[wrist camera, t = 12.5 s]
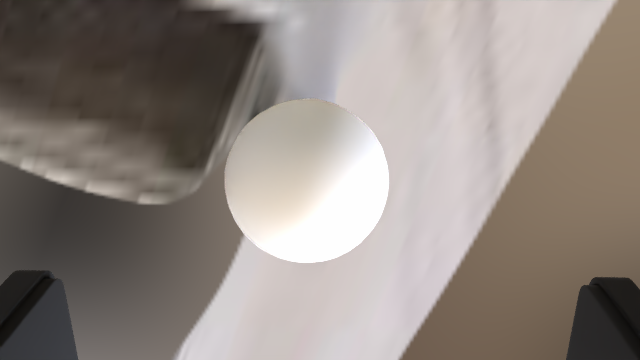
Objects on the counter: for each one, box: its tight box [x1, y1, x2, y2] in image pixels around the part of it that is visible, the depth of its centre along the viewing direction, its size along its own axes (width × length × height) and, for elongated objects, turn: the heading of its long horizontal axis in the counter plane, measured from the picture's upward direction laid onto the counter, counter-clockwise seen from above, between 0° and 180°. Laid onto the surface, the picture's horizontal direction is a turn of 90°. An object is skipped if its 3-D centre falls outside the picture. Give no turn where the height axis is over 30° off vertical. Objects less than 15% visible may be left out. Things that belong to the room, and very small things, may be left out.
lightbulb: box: [225, 98, 389, 263], centre depth 25 cm, size 6×6×11 cm
